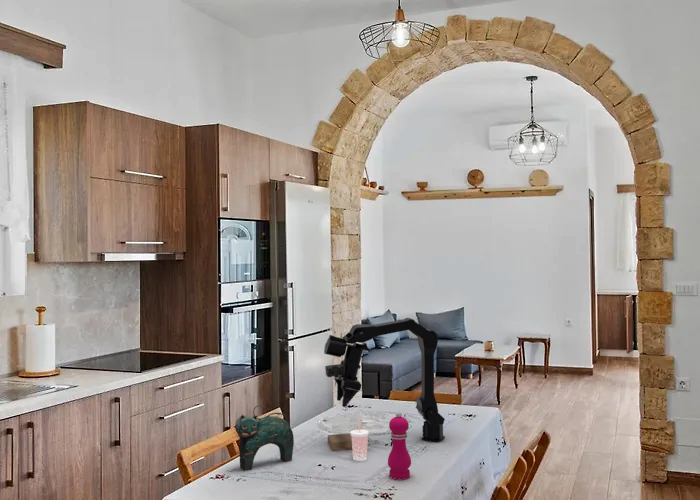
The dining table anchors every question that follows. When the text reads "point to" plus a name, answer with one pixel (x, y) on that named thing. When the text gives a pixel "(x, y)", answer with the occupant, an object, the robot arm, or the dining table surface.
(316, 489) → the dining table surface
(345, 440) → the walnut block
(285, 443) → the ceramic cat
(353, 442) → the beverage cup
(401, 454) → the pepper mill
